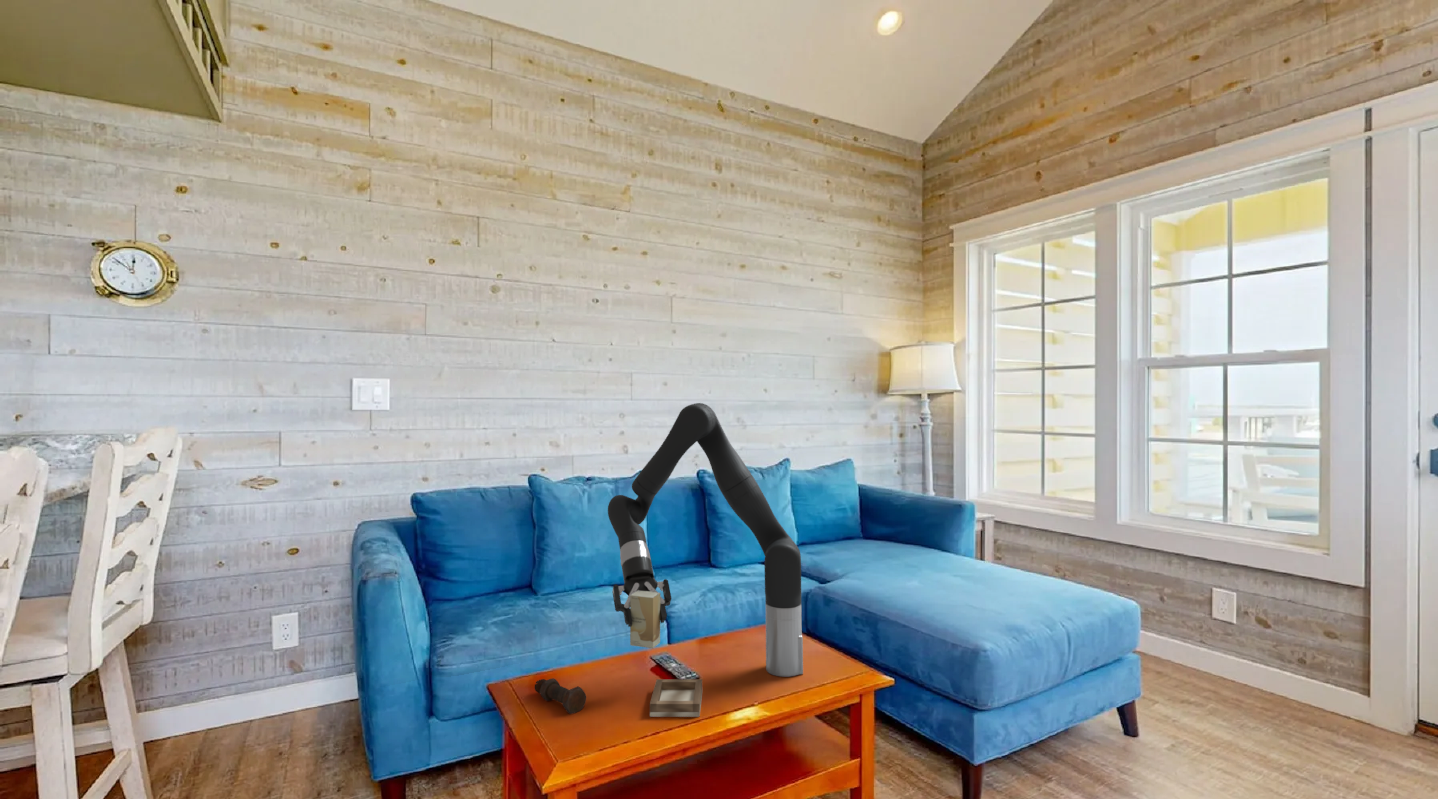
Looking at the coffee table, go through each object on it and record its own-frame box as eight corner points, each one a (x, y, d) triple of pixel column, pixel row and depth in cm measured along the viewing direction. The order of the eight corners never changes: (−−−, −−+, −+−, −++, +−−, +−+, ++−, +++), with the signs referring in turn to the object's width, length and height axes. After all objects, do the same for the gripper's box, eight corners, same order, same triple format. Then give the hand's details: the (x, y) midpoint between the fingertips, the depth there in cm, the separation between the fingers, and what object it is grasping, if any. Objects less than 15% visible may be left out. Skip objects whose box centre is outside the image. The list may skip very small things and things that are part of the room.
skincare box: (629, 646, 157) (628, 594, 157) (637, 639, 161) (636, 589, 161) (654, 649, 155) (653, 597, 155) (661, 642, 159) (660, 591, 159)
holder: (702, 691, 158) (702, 679, 158) (699, 716, 145) (699, 703, 145) (656, 691, 159) (656, 679, 159) (649, 716, 146) (649, 703, 146)
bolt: (542, 700, 159) (580, 717, 149) (526, 695, 156) (563, 712, 146) (552, 675, 161) (589, 690, 151) (536, 670, 158) (573, 685, 148)
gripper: (609, 557, 163) (618, 619, 152) (666, 552, 168) (678, 611, 157) (606, 574, 168) (615, 634, 157) (661, 568, 173) (673, 627, 162)
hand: (647, 623), depth 157 cm, fingers closed on skincare box, 7 cm apart
